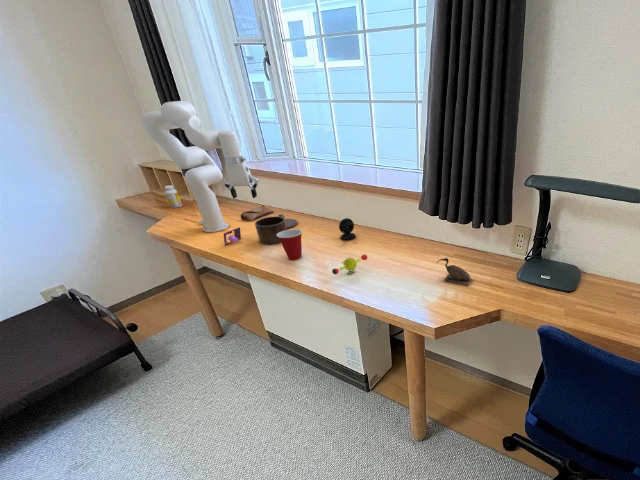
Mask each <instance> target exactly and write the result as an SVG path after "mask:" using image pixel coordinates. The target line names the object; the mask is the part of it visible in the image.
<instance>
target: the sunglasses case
mask: <svg viewBox="0 0 640 480" xmlns="http://www.w3.org/2000/svg"><path fill="white" fill-rule="evenodd" d="M274 212H275V211H274V210H271V209H270V208H269V207H267V206H265V205H264V204H263V205H261V206H258V207H255V208H252V209H250V210H248V211H244V212H242V213H240V219H241V220H242V221H243V222H254V221H255V220H256V221H257V220H259V219H262V218H264V217H267V216H268V215H269V214H270V215H271V214H272V213H274Z"/></svg>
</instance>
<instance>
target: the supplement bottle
mask: <svg viewBox="0 0 640 480" xmlns="http://www.w3.org/2000/svg"><path fill="white" fill-rule="evenodd" d="M164 190H165V191H164V194H165V197H166V199H167V201H168V204H169V206H170V208H172V209H177V208H181V207H182V206H183V203H182V200H181V198H180V194H179V193H178V190H176V189H175V187H174V185H171V184H170V185H166V186H164Z"/></svg>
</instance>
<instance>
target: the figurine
mask: <svg viewBox="0 0 640 480" xmlns="http://www.w3.org/2000/svg"><path fill="white" fill-rule="evenodd" d="M441 261H443V262H445V265H444V267H445V269H446V272H447V273H448V274H447V275H446V277H445V278H444V282H448V283H453V284H456V285H457V284H458V285H463V286H467V287H468V286H469V285H470V284H471V283H472V281H473V278H471V275H470V274H469V273H468V272H467V271H466V270H465V269H463V268H462V267H460V266H458V265H455V264H451V265H448V264H449V258H448V257H445V258H441V259H438V260H437V262H436V264H438V263H439V262H441Z"/></svg>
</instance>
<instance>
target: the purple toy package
mask: <svg viewBox="0 0 640 480" xmlns="http://www.w3.org/2000/svg"><path fill="white" fill-rule="evenodd" d="M230 234H231V235H230ZM233 234H234V235H233ZM228 235H229V236H228ZM227 236H228V237H227ZM228 240H229V242H228ZM240 240H242V235H241V227H237V228H234V229H231V230H229V231H226V232H224V233H223V241H224V246H227V245H229V244H231V243H233V244H234V243H241V241H240Z"/></svg>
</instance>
